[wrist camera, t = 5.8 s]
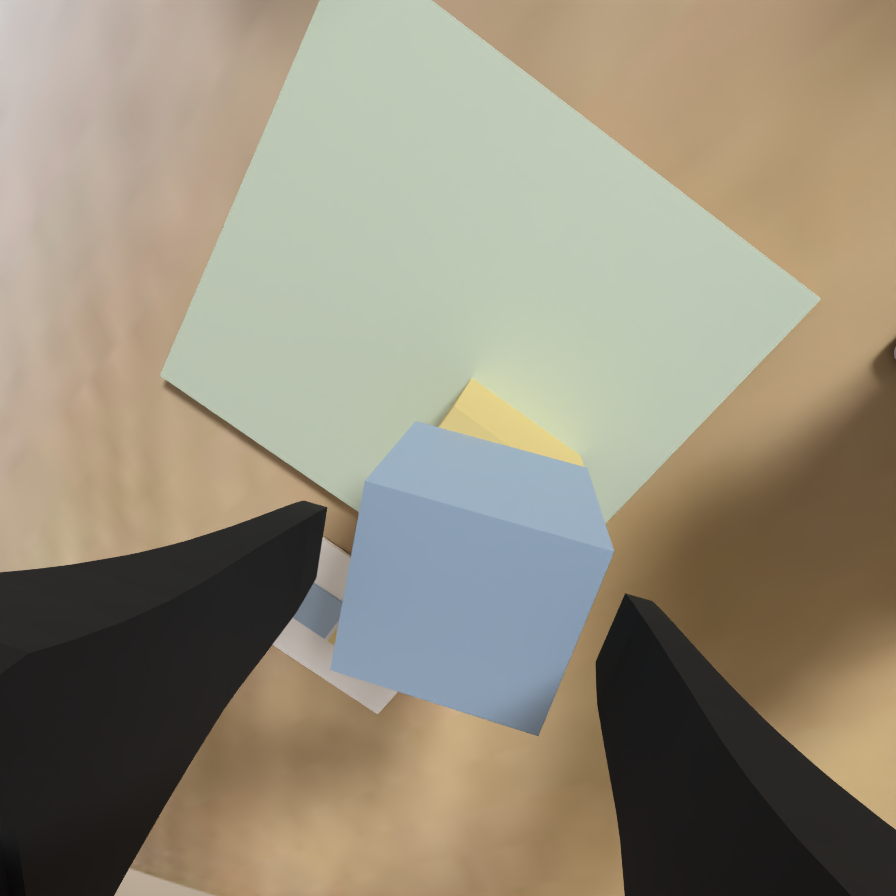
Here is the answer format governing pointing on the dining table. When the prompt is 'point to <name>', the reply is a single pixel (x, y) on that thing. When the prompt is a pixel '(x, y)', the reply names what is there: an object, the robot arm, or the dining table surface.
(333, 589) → the page
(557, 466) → the blue brick
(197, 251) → the dining table surface
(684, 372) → the baseplate
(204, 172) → the dining table surface
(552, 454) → the mustard brick
